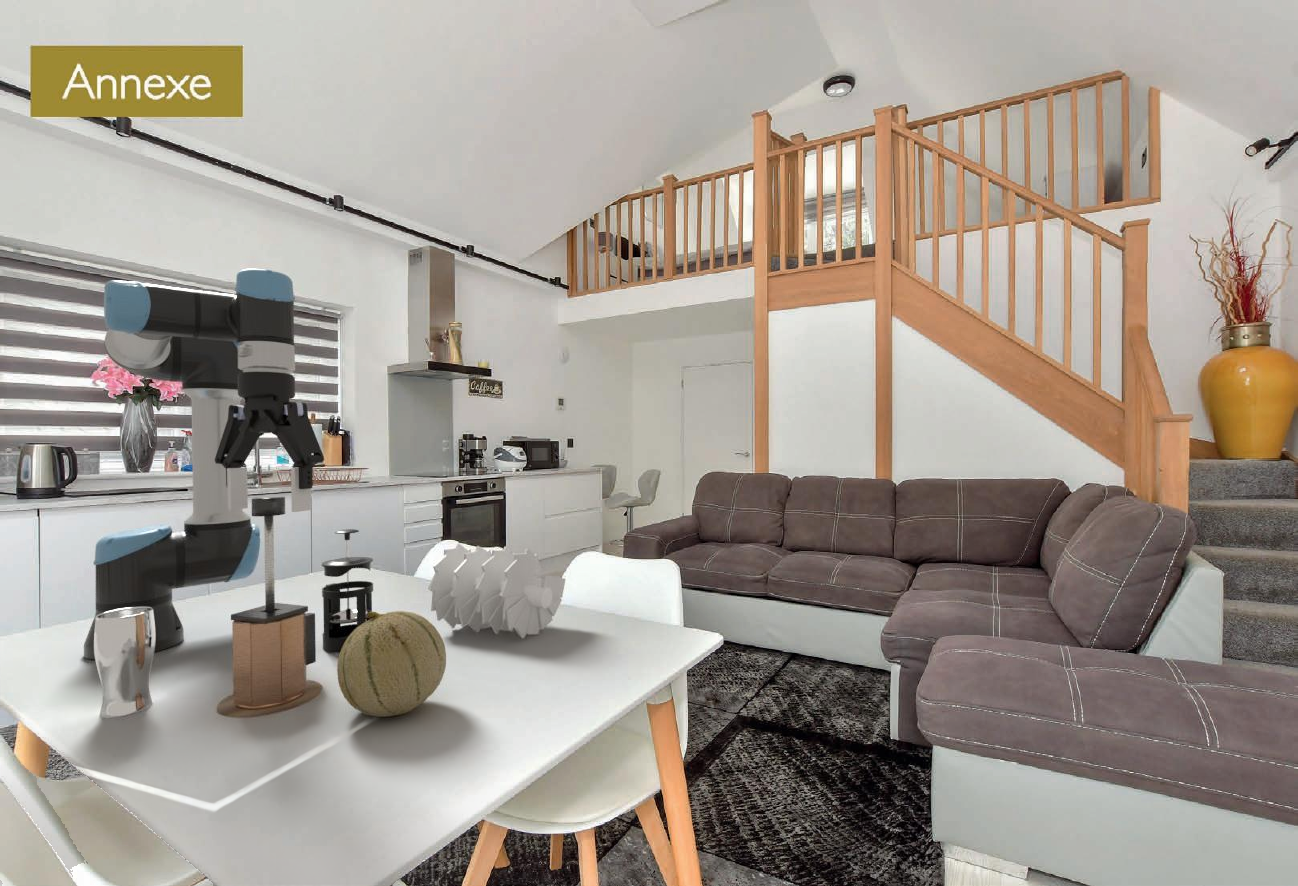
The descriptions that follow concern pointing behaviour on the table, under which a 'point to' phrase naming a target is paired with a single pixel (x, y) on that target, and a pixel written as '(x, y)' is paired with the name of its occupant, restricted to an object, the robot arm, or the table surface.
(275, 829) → the table surface
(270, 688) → the carafe
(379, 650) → the cantaloupe
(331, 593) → the french press
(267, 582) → the plunger
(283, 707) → the coaster
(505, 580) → the spiral staircase
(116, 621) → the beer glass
